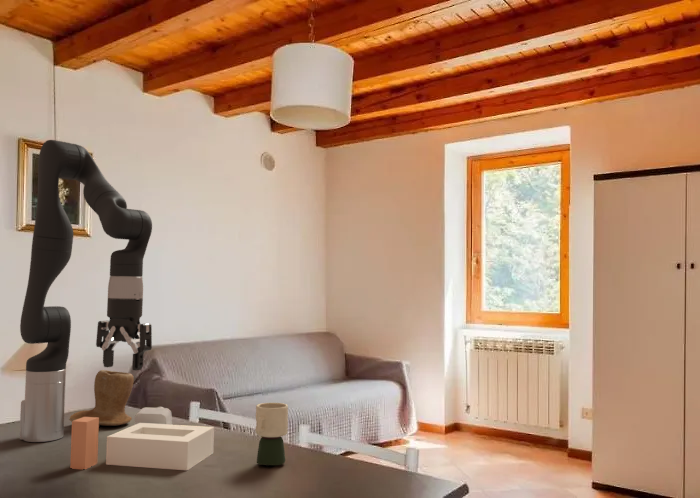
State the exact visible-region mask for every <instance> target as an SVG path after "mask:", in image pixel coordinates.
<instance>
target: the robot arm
mask: <svg viewBox="0 0 700 498" xmlns="http://www.w3.org/2000/svg"><path fill="white" fill-rule="evenodd" d="M37 165H38V167H37V198H36V199H37V200H36V212H35V221H34V227H33V233H32V234H33V235H32V241H31V251H30V252H31V253H30V265H29V274H28V281H27V287H26V292H25V296H24V301H23V306H22V311H21V317H20V325H19V328H20V329H19V332H20V336H21V339H22V340H23V342H24V343H25V344H47V345H46V347H45V348H44V349H43V350H41V352H39V353H37V354H36V355H33V356H31V357H29V358H28V359H27V360H26V363H25V385H24V386H25V388H24V399H23V400H21V401H20V413H19V415H20V416H19V418H20V419H19V440H22V441H24V442H27V443H28V442H30V443H43V442H50V441H56V440H60V439H62V438H63V437H64V435H65V434H64V430H65V407H66V402H65V401H66V375H67V373H66V372H67V361H68V359H69V353H70V351H69V350H70V341H71V340H70V339H71V332H72V331H71V330H72V329H71V328H72V320H71V314H70V312H69V310H68V309H67V308H66V307H65V306H57V305H55V306H45V304H46V303H45V301H46V297H47V296H48V291H49V289H50V287H51V286H52V284H53V283H54V282H55V280H56V279H57V278H58V276H59V275H60V274H61V273H62V271H64V269H65V267H66V266H67V265H68V263H69V262H70V259H71V257H72V250H73V242H74V229H73V226H72V223H71V221H70V218H69V217H68V215H67V212H66V211H65V208H64V207H63V204H62V202H61V198H60V192H59V191H60V189H59V186H60V185H59V182H60V179H62V180H69V181H77V182H79V183H80V184H82V185H83V198H84V200H85V203H86V204H87V205H88V206H89V207H90V208H91V210H93V212H94V213H96V215H97V216H98V219H99V221H100V224H101V227H102V229H103V231H104V233H105V234H106V235H107V236H109V237H111V238H112V239H116V240H128V242H127V244H126V246H125V248H124V249H118V250H115V251H113V252H112V253H111V255H110V258H109V259H110V260H109V262H110V263H109V280H108V284H107V285H108V286H107V307H106V308H107V309H106V316H107V317H108V318H109V320H100V321H98V322H97V327H96V328H97V330H96V340H95V346H96V348H100V349H101V350H102V351H103V352H102V364H103V367H104V368H112V367H113V366H114V361H115V360H114V354H115V350H114V348H115V346H116V345H117V344H118V343H119V342H123V343H127V345H128V346H130V347H131V349H132V351H133V353H132V365H131V368H132V371H134V372H135V371H141V370H142V368H143V367H144V354H145V352H148V351H151V350H152V348H153V347H152V345H153V343H152V340H153V339H152V337H153V336H152V335H153V334H152V331H153V330H152V327H153V326H152V324H151V323H150V322H149V323H147V322H146V323H141V321H140V319H141V318H142V316H143V303H144V302H143V300H144V283H143V273H144V272H143V271H144V268H143V267H144V257H145V255H146V250H147V247H148V244H149V241H150V238H151V237H152V236H151V235H152V233H153V232H152V231H153V222H152V218H151V216H150V215H149V213H147V212H146V211H144V210H142V209H131V208H128V205H127V204H128V203H127V201H126V199H125V198H124V197H123V195H121V193H119V191H118V190H117V189H116V188H115V187H114V186H112V184H110V183H109V181H108V180H107V179H106V177H105V176H104V174H103V173H102V171H101V169H100V168H99V166H98V165H97V162H96V161H95V160H94V158H93V156H92V155H91V153H90V152H89V150H87V148H85V147H84V146H82V145H80V144H77V143H70V142H66V141H62V140H61V141H60V140H57V139H56V140H55V139H47V140H45V141H44V143H43V144H42V145H41V147H40V151H39V154H38V164H37Z"/></svg>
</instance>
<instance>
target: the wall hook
mask: <svg viewBox="0 0 700 498" xmlns="http://www.w3.org/2000/svg"><path fill="white" fill-rule="evenodd" d="M138 423H153V424H170V425H173V415H172V411H171V410H170V409H169V408H167V407H163V406H157V407H149V406H148V407H146V406H145V407H142V408H141V409H140V410H139V411H138V412H137V413H136V414H135V416H134V425H136V424H138Z"/></svg>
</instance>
